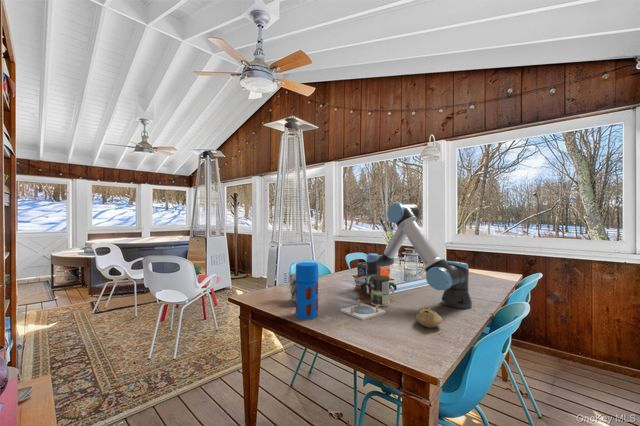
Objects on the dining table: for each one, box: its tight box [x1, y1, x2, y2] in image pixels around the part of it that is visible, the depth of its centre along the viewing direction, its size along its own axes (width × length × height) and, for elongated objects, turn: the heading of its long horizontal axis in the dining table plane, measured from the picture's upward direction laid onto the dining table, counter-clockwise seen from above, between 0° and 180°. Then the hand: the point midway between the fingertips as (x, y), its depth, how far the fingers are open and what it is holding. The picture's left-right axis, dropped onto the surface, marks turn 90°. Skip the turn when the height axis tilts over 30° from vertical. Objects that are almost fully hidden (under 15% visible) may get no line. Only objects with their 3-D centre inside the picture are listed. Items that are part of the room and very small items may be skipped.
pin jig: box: [339, 299, 386, 321], centre depth 147 cm, size 16×16×4 cm
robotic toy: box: [287, 273, 296, 301], centre depth 164 cm, size 13×17×15 cm
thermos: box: [295, 261, 319, 320], centre depth 142 cm, size 11×11×25 cm
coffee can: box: [370, 274, 390, 307], centre depth 161 cm, size 10×10×14 cm
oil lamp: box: [415, 306, 443, 329], centre depth 131 cm, size 11×15×8 cm
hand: (380, 291), depth 158 cm, fingers open, 13 cm apart
